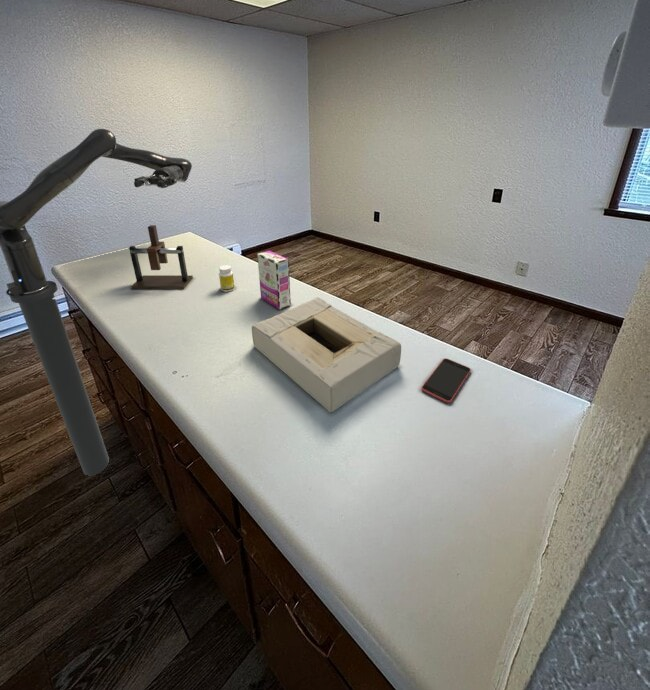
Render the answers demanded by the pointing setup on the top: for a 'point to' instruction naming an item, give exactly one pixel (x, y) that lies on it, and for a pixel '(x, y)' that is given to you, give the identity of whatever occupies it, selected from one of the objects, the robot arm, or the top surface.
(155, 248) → the brown u-shaped bracket
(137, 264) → the rack
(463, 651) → the top surface
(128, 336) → the top surface
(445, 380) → the smartphone
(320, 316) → the box
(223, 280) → the supplement bottle
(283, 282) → the candy bar box
